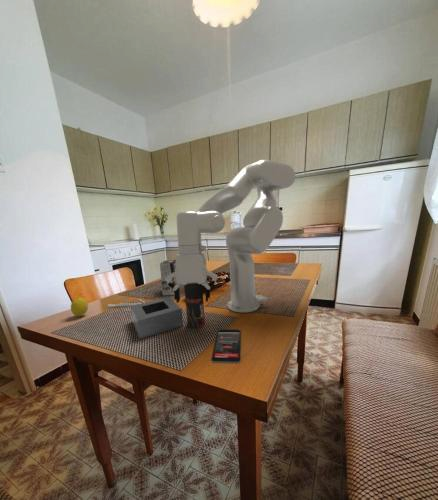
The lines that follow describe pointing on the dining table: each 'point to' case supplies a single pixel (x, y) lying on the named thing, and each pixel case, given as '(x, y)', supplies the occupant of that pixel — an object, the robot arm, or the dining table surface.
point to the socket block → (156, 317)
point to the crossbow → (124, 304)
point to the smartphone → (227, 346)
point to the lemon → (79, 306)
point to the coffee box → (167, 269)
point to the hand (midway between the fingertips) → (192, 300)
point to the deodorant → (194, 305)
